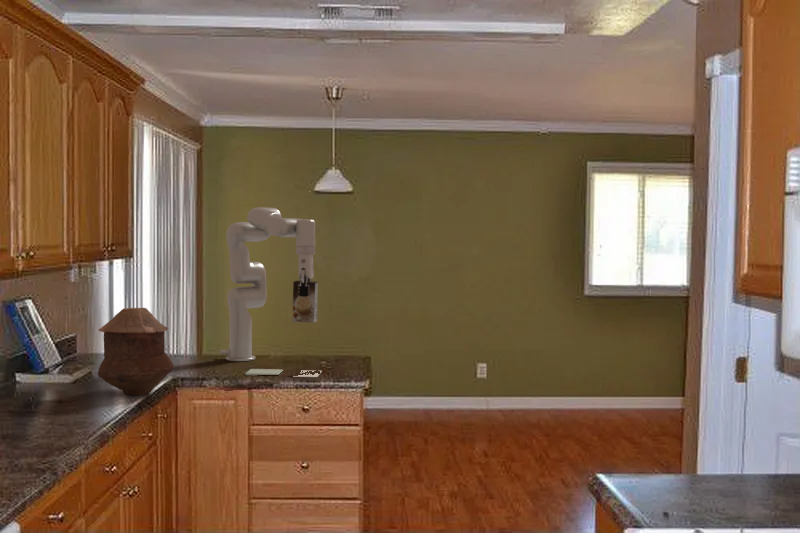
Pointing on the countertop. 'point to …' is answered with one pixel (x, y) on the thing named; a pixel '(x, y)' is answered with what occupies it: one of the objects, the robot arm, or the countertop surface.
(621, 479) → the countertop surface
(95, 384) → the countertop surface
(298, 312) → the coffee box
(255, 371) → the green pad
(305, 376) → the card
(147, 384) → the pottery vessel
